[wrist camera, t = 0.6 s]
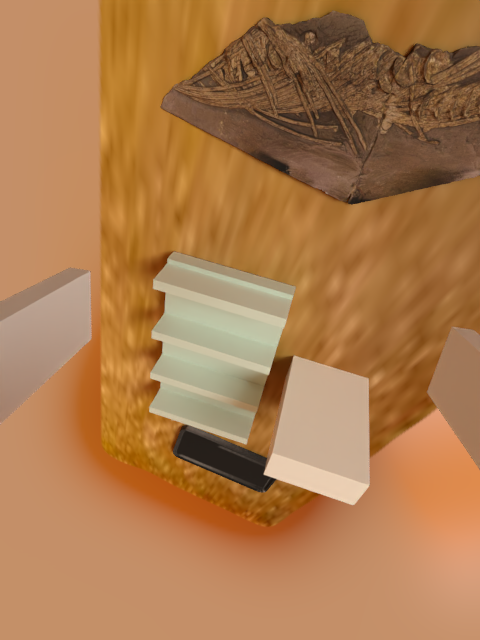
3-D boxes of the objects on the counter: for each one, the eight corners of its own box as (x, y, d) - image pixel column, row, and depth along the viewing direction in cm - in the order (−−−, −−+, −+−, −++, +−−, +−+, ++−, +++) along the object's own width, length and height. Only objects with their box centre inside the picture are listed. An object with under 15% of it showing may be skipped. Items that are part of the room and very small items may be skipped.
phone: (264, 494, 57) (171, 454, 57) (265, 487, 58) (174, 448, 58) (283, 470, 52) (181, 427, 52) (284, 462, 52) (184, 420, 53)
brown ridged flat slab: (591, 53, 21) (599, 54, 21) (486, 231, 28) (490, 237, 28) (164, -15, 25) (157, -17, 24) (164, 159, 32) (158, 163, 31)
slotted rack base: (173, 251, 36) (153, 274, 33) (295, 286, 35) (288, 314, 32) (164, 387, 49) (149, 414, 45) (254, 416, 48) (245, 446, 44)
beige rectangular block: (293, 355, 40) (272, 452, 31) (368, 378, 39) (369, 485, 30) (285, 377, 42) (263, 474, 33) (356, 399, 42) (353, 505, 32)
